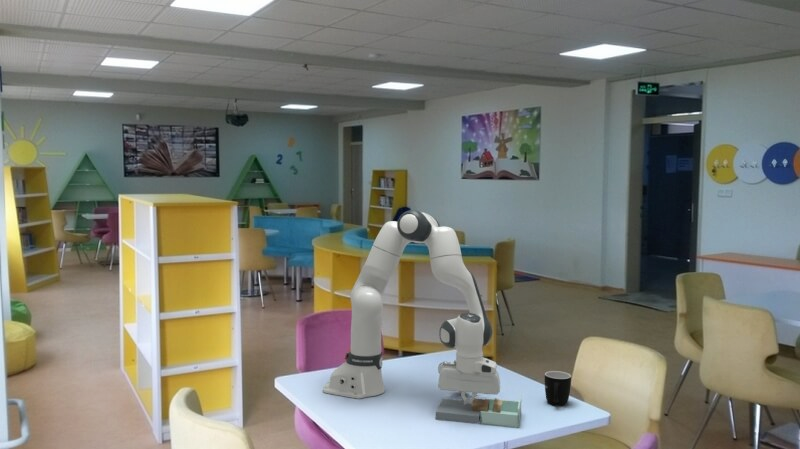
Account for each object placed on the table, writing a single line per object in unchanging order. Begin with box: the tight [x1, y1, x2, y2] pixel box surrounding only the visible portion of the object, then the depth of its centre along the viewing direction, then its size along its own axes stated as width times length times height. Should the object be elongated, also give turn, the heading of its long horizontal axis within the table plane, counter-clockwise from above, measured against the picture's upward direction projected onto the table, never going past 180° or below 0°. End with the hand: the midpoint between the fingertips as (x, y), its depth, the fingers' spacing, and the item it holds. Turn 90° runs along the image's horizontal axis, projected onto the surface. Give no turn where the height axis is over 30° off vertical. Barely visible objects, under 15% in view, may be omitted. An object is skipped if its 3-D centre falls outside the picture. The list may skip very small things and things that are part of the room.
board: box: [435, 398, 481, 425], centre depth 214 cm, size 14×13×2 cm
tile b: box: [472, 397, 490, 412], centre depth 212 cm, size 5×5×2 cm
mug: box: [544, 370, 572, 407], centre depth 224 cm, size 12×9×10 cm
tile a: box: [492, 398, 504, 413], centre depth 211 cm, size 5×5×2 cm
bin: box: [479, 395, 522, 429], centre depth 210 cm, size 12×13×6 cm
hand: (468, 404), depth 213 cm, fingers closed
